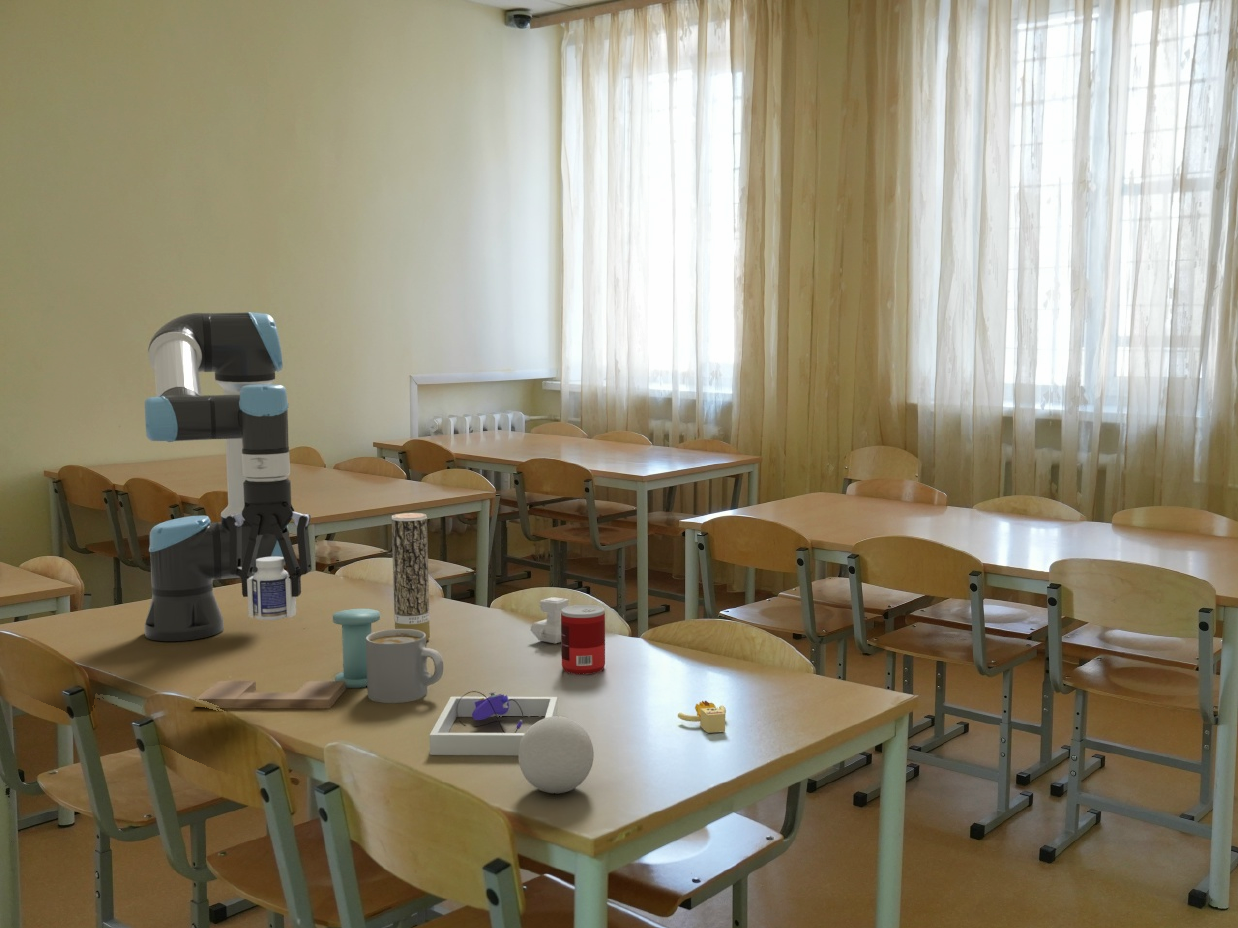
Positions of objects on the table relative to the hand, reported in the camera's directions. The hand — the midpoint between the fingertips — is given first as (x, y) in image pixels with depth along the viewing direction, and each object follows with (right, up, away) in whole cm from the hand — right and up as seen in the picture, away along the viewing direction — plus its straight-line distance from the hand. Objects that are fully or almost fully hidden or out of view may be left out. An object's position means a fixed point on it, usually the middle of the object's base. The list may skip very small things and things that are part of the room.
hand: (272, 615), depth 200 cm
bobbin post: (+12, -13, +9) cm, 20 cm away
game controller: (+39, -16, -15) cm, 45 cm away
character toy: (+73, -16, -14) cm, 76 cm away
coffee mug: (+22, -14, +1) cm, 26 cm away
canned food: (+52, -12, +16) cm, 55 cm away
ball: (+50, -18, -40) cm, 67 cm away
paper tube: (+17, -10, +36) cm, 41 cm away
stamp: (+45, -10, +35) cm, 58 cm away
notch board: (0, -14, 0) cm, 14 cm away
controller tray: (+39, -16, -18) cm, 46 cm away
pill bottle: (0, 0, 0) cm, 0 cm away
